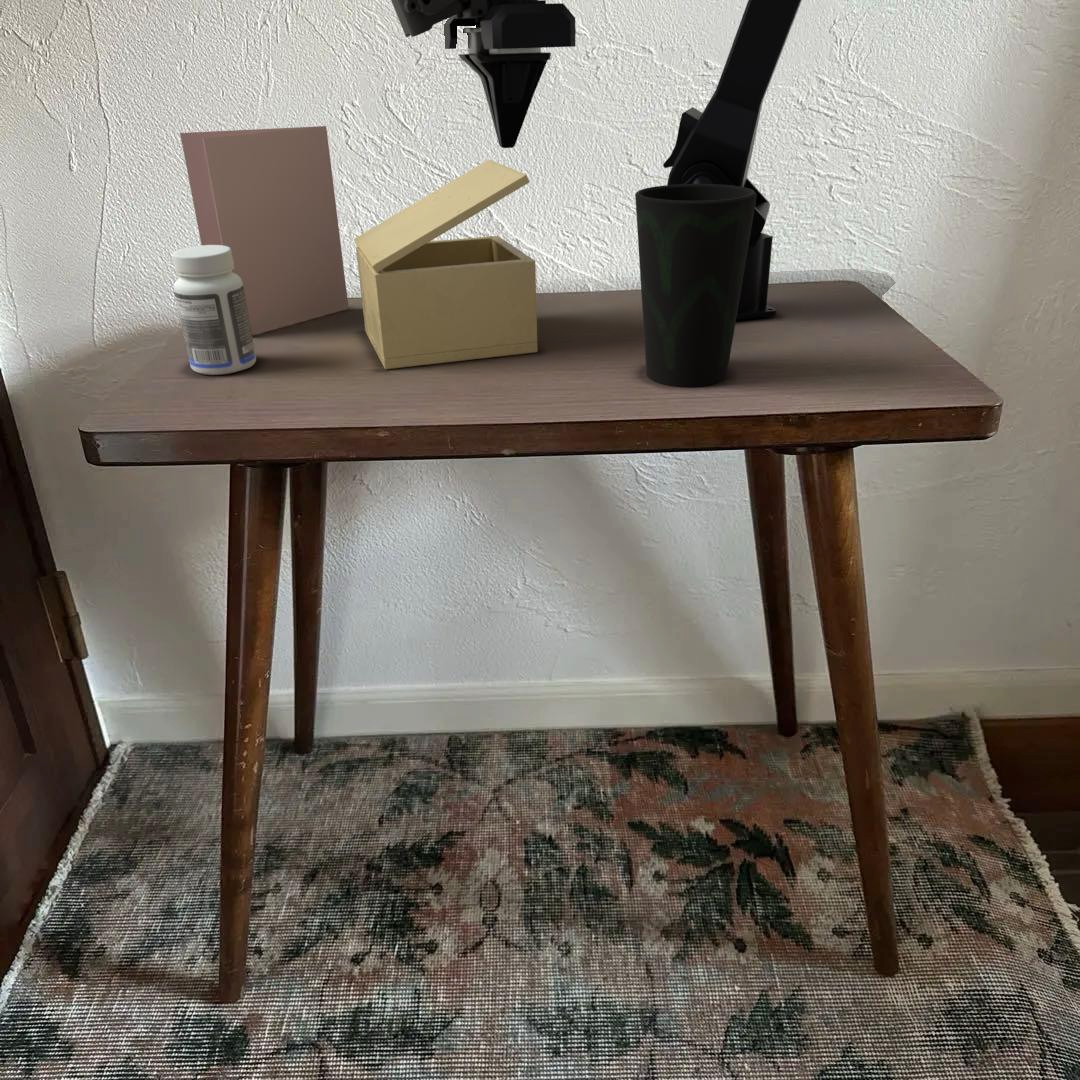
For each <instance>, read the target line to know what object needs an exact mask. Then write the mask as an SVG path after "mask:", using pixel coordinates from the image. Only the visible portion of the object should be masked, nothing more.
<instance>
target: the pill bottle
mask: <svg viewBox="0 0 1080 1080" xmlns="http://www.w3.org/2000/svg"><path fill="white" fill-rule="evenodd" d="M171 256H172V262H173V269H174V271H175V274H176V276H178V277H179V278H177V280H176V281H175V282H174V284H173V293H174V298H175V301H176V307H177V311H178V316H179V320H180V324H181V325H180V326H181V330H182V334H183V337H184V338H183V339H184V342H185V343H184V344H185V349H186V353H187V357H188V362H189V365H190V368H191V370H192V371H194V372H195V373H198V374H201V375H207V376H220V375H228V374H229V375H230V374H233V373H237V372H242V371H244V370H247V369H249V368H252V367H254V365H255V363H256V362H257V354H256V350H255V343H254V337H253V335H252V331H251V325H250V320H249V315H248V310H247V304H246V299H245V293H244V287H243V283H242V280H241V278H240V277H239V276H238V275H237V274H235V273H233V272H232V270H233V269H234V262H233V257H232V252H231V249H230V248H229V247H227V246H222V245H193V246H188V247H184V248H179V249H177V250H175V251H172V254H171Z"/></svg>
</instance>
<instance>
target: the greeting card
mask: <svg viewBox="0 0 1080 1080" xmlns="http://www.w3.org/2000/svg"><path fill="white" fill-rule="evenodd" d="M179 135H180V141H181V145H182V151H183V157H184V161H185V166H186V167H185V168H186V172H187V177H188V182H189V187H190V193H191V198H192V203H193V208H194V213H195V218H196V219H195V220H196V223H197V224H196V225H197V229H198V234H199V239H200V246H202V245H222V246H227V247H229V248H230V249H231V252H232V257H233V262H234V269H233V270H232V272H233V273H235V274H237V275H238V276H239V277H240V278H241V280H242V283H243V287H244V293H245V299H246V304H247V310H248V315H249V320H250V325H251V331H252V336H253V335H257V334H261V333H264V332H267V331H271V330H276V329H280V328H282V327H286V326H290V325H294V324H297V323H301V322H304V321H308V320H312V319H316V318H320V317H323V316H326V315H330V314H335V313H338V312H342V311H345V310H348V309H349V308H350V307H349V301H348V300H349V299H348V292H347V284H346V275H345V269H344V259H343V251H342V245H341V243H342V242H341V235H340V228H339V217H338V213H337V212H338V211H337V203H336V195H335V187H334V178H333V170H332V163H331V155H330V154H331V153H330V146H329V145H330V144H329V139H328V129H327V125H321V126H299V127H278V128H276V127H275V128H257V129H256V128H255V129H235V130H215V131H214V130H213V131H196V132H195V131H194V132H193V131H192V132H179Z"/></svg>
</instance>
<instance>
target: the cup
mask: <svg viewBox="0 0 1080 1080" xmlns="http://www.w3.org/2000/svg"><path fill="white" fill-rule="evenodd" d="M634 197H635V198H634V199H635V215H636V230H637V245H638V260H639V274H640V276H639V277H640V291H641V292H640V293H641V306H642V308H641V309H642V323H643V337H644V340H643V341H644V355H645V372H646V377H648V379H650V380H651V381H653V382H656V383H658V384H661V385H666V386H672V387H681V388H682V387H683V388H696V387H705V386H710V385H715V384H718V383H720V382H722V381H724V380H725V379H726V378H727V376H728V370H729V364H730V358H731V351H732V348H733V347H732V346H733V341H734V335H735V328H736V324H737V323H736V322H737V320H736V317H737V311H738V305H739V299H740V293H741V287H742V281H743V275H744V269H745V263H746V257H747V251H748V245H749V239H750V233H751V227H752V221H753V215H754V209H755V203H756V197H757V194H756V193H755V191H754V190H752V189H749V188H745V187H739V186H731V185H719V184H678V185H657V186H650V187H644V188H643V189H639V190H638V191H636V192H635V193H634Z"/></svg>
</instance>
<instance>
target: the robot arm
mask: <svg viewBox="0 0 1080 1080" xmlns="http://www.w3.org/2000/svg"><path fill="white" fill-rule="evenodd" d="M390 1H391V4H392V6H393V9H394V11H395V13H396V16H397V19H398V21H399V24H400V27H401V28H402V31H403V34H404V36H405V37H406V38H409V37H411V38H415V37H417V36H419V35H422V34H424V33H426V32H429V31H431V30H432V28H433V26H434V25H436V24H439V23H441V22H444V21H445V20H446V19H447V18H449V19H448V20H447V21H446V23H445V24H444V36H445V49H444V50H456V44H457V26H475V25H476V28H464V29H463V33H467V35H468V48H467V50H468V53H460V54H458V57H459V59H460V60H461V61H462V62H464V63H465V64H466V65H467V66H468V67H470V68H471V70H473V72H475V73H476V74H477V75H478V77H479V79H480V81H481V85H482V87H483V91H484V95H485V99H486V101H487V105H488V109H489V112H490V113H489V114H490V116H491V120H492V124H493V127H494V130H495V134H496V138H497V142H498V145H499V147H500V148H502V149H511V148H512V149H513V148H515V146H516V143H517V141H518V138H519V136H520V133H521V130H522V128H523V125H524V122H525V120H526V119H525V118H526V116H527V114H528V111H529V108H530V105H531V103H532V101H533V97H534V95H535V92H536V90H537V87H538V85H539V83H540V81H541V78H542V76H543V73H544V70H545V67H546V65H547V63H548V61H550V60H551V56H552V52H546V51H545V52H544V51H543V52H542V49H544V48H573V47H576V17H575V16H574V14H573V13H572V12H571V11H570V9H569V8H568V7H567V6H566V5H565V4H564V3H563V2H562V3H560V2H559V3H558V2H557V3H547V2H546V1H547V0H390ZM802 1H803V0H747V3H746V6H745V8H744V11H743V13H742V16H741V19H740V21H739V25H738V28H737V30H736V34H735V35H734V39H733V42H732V45H731V46H730V50H729V53H728V56H727V59H726V60H725V64H724V67H723V70H722V72H721V75H720V78H719V80H718V83H717V86H716V89H715V91H714V92H713V94H712V96H711V98H710V100H709V101H708V103H707V104H706V106H705V108H704V109H703V112H702V111H700V110H699V109H697V108H696V107H690V108H689V109H687V110H685V111H683V112H682V113H681V116H680V120H679V125H678V131H677V135H676V141H675V144H674V145H675V146H674V148H673V150H672V152H671V154H670V156H669V157H667V159H666V160H665V162H663V164H662V165H663V168H664V169H669V168H671V169H670V171H669V173H668V178H667V185H678V184H719V185H731V186H739V187H745V188H749V189H752V190H754V191H755V193H756V194H757V197H756V203H755V209H754V215H753V221H752V227H751V233H750V239H749V245H748V251H747V257H746V263H745V269H744V275H743V281H742V287H741V293H740V299H739V305H738V311H737V317H736V321H737V320H748V319H756V318H764V317H765V318H766V317H774V316H777V309H776V308H774V307H772V306H770V305H769V304H768V294H769V293H768V292H769V285H770V284H769V283H770V271H771V261H772V252H773V251H772V250H773V239H774V236H773V235H770V234H767V233H764V232H763V231H764V228H765V225H766V222H767V219H768V214H769V212H770V207H771V203H770V201H769V200H768V199H767V198H766V197H765V196H764V194H762V192H761V191H760V190H759V189H758V188H757V187H756V186H755V185H754V184H753V183H752V181H751V180H750V178H748V174H749V170H750V165H751V159H752V156H753V152H754V151H753V150H754V146H755V142H756V137H757V131H758V126H759V121H760V116H761V112H762V111H761V110H762V106H763V102H764V99H765V97H766V94H767V92H768V89H769V86H770V84H771V81H772V79H773V76H774V73H775V70H776V68H777V66H778V62H779V61H780V57H781V55H782V53H783V51H784V47H785V45H786V42H787V40H788V37H789V35H790V32H791V29H792V28H793V24H794V22H795V20H796V16H797V14H798V11H799V10H800V6H801V3H802Z"/></svg>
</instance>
